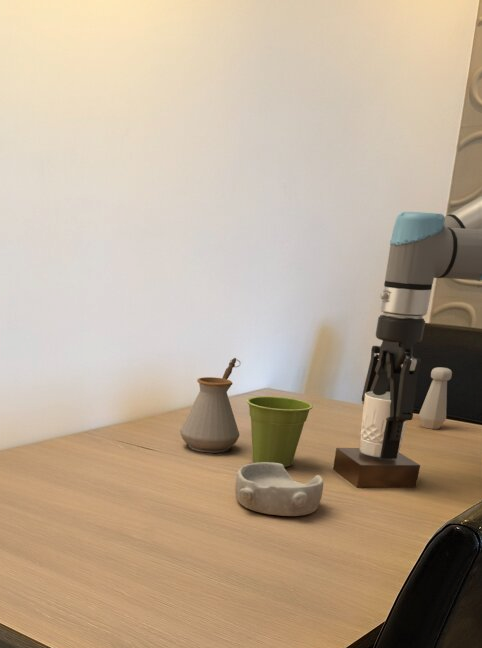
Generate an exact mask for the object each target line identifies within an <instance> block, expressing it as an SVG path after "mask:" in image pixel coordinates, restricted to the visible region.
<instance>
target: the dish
mask: <svg viewBox="0 0 482 648" xmlns="http://www.w3.org/2000/svg"><path fill="white" fill-rule="evenodd" d="M323 490H324V479H323V477H322V476H321V475H315V476H314V477H313V478H312V479H311V480H310V481H309V482H306V483H302V482H299V481H296V480H294V479H293V477H291V474H289V473H288V471H287V469H286V467H285V468H284V465H283V464H280V463H271V462H259V463H254V462H252V463H248V464H247V463H246V464H244V465H242V466H241V467H240V468H239V469H238V470H237V472H236V477H235V483H234V494H235V499H236V500H237V502H238V503H239V504H240V505H241V506H243V507H244V508H246V509H248V510H251V511H253V512H256V513H260V514H266V515H271V516H272V515H273V516H282V517H301V516H306V515H310V514H312V513H314V512H316V510H317V509H318V508H319V506H320V503H321V500H322V497H323V492H324V491H323Z"/></svg>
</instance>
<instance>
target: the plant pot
mask: <svg viewBox="0 0 482 648" xmlns="http://www.w3.org/2000/svg"><path fill="white" fill-rule="evenodd" d="M246 403H247V404H248V408H249V409H248V411H249V417H250V425H251V426H250V427H251V430H250V431H251V449H252V450H251V451H252V452H251V453H252V463H259V462H271V463H280V464H283V465H284V468H285V469H286V468H287V467H288V468H289V466H292V465H293V462H294V459H295V456H296V452H297V448H298V445H299V442H300V439H301V435H302V431H303V428H304V426H305V423H306V421H307V419H308V416H309V413H310V410H312V409H313V408H314V405H313V404H312V403H310V402H308V401H306V400H301V399H297V398H291V397H284V396H276V395H275V396H274V395H261V396H252V397H248V398H247V399H246Z"/></svg>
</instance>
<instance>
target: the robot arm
mask: <svg viewBox="0 0 482 648" xmlns="http://www.w3.org/2000/svg"><path fill="white" fill-rule="evenodd" d="M435 279H453V280H469V281H470V280H472V281H477V282H480V281H482V195H481V196H479V197H477V198H476V199H474V200H472V201H470V202H469V203H467V204H465V205H463V206H461V207H460V208H458V209H456V210H454V211H453V212H450V213H449V214H447V215H446V216H444V214H442V213H437V212H436V213H435V212H420V211H402V212H400V213H399V214H398V215H397V216H396V218H395V221H394V226H393V229H392V233H391V237H390V241H389V252H388V257H387V263H386V272H385V277H384V283H383V290H382V293H380V296H379V298H380V299H381V301H380V307H379V308H380V309H379V310H380V312H381V313H382V314H380V315H379V316H377V317H378V318H377V323H376V330H375V337H376V339H378V340H379V341H382V342H381V344H380V345H372V346H371V352H370V361H369V365H368V368H367V373H366V377H365V382H364V386H363V390H362V395H361V402H362V403H364V399H365V393H367V392H371V391H373V393H374V394H375V395H383V394H385V393H386V391H387V390H388V388H389V386H390V388H389V392H390V400H391V404H390V417H388V418H386V421H387V422H386V428H385V433H384V439H383V444H382V450H381V455H380V458H382V459H397V454H398V449H399V443H400V438H401V433H402V428H403V423H404V421H407V422H408V421H412V420H413V417H414V409H415V400H416V394H417V393H416V392H417V385H418V376H419V371H420V368H421V364H422V359H421V358H419V357H418V358H417V357H416V358H415V357H414V355H413V346H414V345H415V344H418V343H420V342H422V340H423V336H424V331H425V325H426V321H425V318H424V316H427V315H428V311H429V303H430V300H431V294H432V288H433V284H434V280H435ZM387 392H388V391H387Z"/></svg>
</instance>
